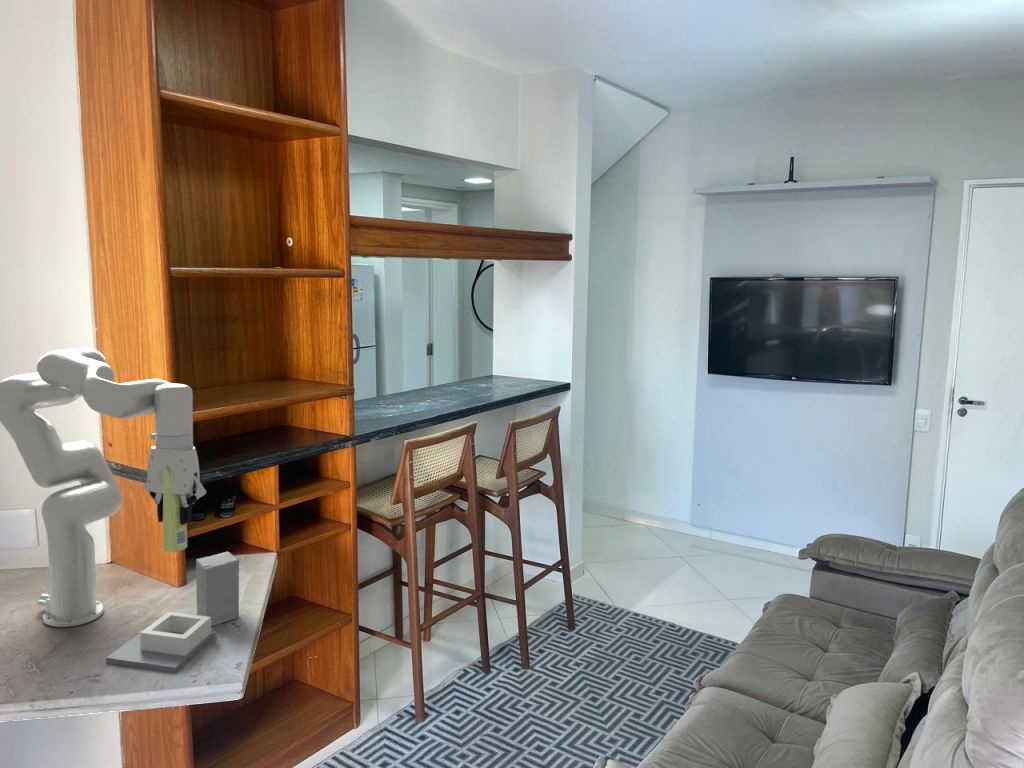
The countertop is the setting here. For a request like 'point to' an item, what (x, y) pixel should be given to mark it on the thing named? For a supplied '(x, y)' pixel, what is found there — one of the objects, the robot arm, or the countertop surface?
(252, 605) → the countertop surface
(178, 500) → the tube
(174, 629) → the dock
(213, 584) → the skincare box
